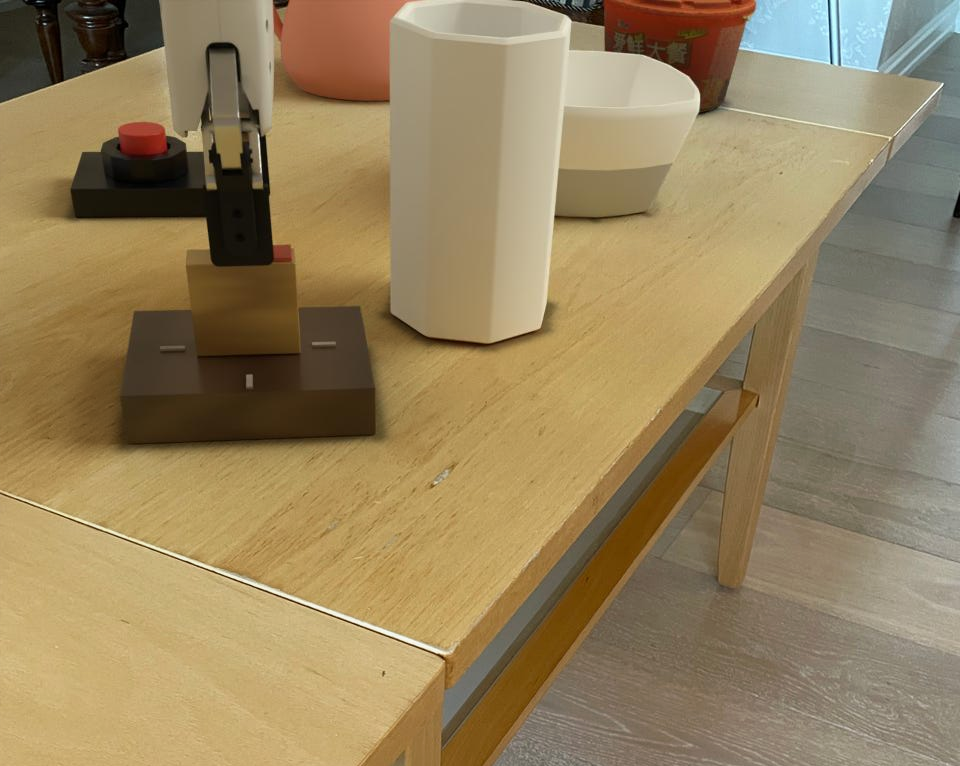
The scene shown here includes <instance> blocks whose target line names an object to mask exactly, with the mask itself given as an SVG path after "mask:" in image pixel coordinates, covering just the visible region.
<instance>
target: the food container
mask: <svg viewBox="0 0 960 766" xmlns="http://www.w3.org/2000/svg"><path fill="white" fill-rule="evenodd" d="M603 6H604V7H603V9H604V10H603V11H604V13H603V16H604V17H603V18H604V21H603V23H604V24H603V25H604V29H603V30H604V31H603V32H604V33H603V34H604V35H603V36H604V39H603V40H604V52H616V53H627V54H638V55H644V56H647V57H650V58H652V59H655V60H658V61H660V62H663V63H665V64H668V65H670V66H672V67H673V68H675V69H677V70H678V71H680V72H682V73H684V74H685V75H687V76H689V77H690V79H691V80H692V81H693V83H694V84H695V85H696V87H697V88H698V90H699V93H700V107H699V112H698V114H699V113H702V112H706V111H707V112H708V111H712V110H714V109H717V108H719V107H720V106H721V105H723V103H724V102H725V100H726V96H727V93H728V89H729V85H730V82H731V78H732V74H733V71H734V67H735V64H736V62H737V61H736V60H737V56H738V54H739V50H740V46H741V42H742V40H743V36H744V31H745V29H746V25H747V22H749V21H751V19H752V18H753V15H754V13H755V12H756V9H757V1H756V0H603Z"/></svg>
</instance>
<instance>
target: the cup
mask: <svg viewBox="0 0 960 766" xmlns="http://www.w3.org/2000/svg"><path fill="white" fill-rule="evenodd" d="M571 30H572V19H571V18H570V17H569V16H568V15H566V14H563V13H561V12H558V11H555V10H551V9H548V8H545V7H543V6H540V5H537V4H534V3H532V2H527V1H520V0H422V1H413V2H407V3H406V4H405V5H404V6H403V7H402V8H401V9H400V10H399V11H398V12H397V13H396V14H395V16H394V17H393V18H392V19H391V20H390V100H389V225H390V226H389V229H390V231H389V233H390V235H389V239H390V240H389V242H390V244H389V245H390V246H389V248H390V250H389V251H390V252H389V253H390V255H389V258H390V259H389V260H390V263H389V264H390V265H389V266H390V269H389V270H390V272H389V273H390V276H389V277H390V278H389V279H390V282H389V283H390V285H389V286H390V291H389V292H390V313H391V314H392V315H393V316H395V317H396V318H398V319H399V320H400V321H402V322H404V323H405V324H407V325H408V326H409V327H411V328H413V330H416V331H417V332H418V333H420V334H422V335H423V336H425V337H426V338H429V339H438V340H445V341H446V340H447V341H448V340H449V341H456V342H466V343H475V344H484V345H490V344H495V343H497V342H500V341H505V340H507V339H511V338H514V337H518V336H521V335H525V334H528V333H531V332H535V331H538V330H540V329H541V328H542V323H543V321H544V315H545V311H546V307H547V301H548V291H549V280H550V269H551V257H552V247H553V235H554V222H555V215H554V213H555V202H556V191H557V180H558V168H559V157H560V146H561V134H562V123H563V112H564V101H565V89H566V78H567V67H568V55H569V50H570V44H571V32H572V31H571Z"/></svg>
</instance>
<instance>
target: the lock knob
mask: <svg viewBox="0 0 960 766" xmlns="http://www.w3.org/2000/svg"><path fill="white" fill-rule="evenodd" d="M273 252H274V261H273V263H272V264H270V265H267V266H230V267H217V266H215V265H214V264H213V263H212V261H211V256H210V248H207V249H206V248H205V249H204V248H203V249H187V250H186V260H185V271H186V278H187V287H188V294H189V303H190V310H191V313H192V321H193V330H194V338H195V346H196V354H197V356H223V355H259V354H295V353H301V346H300V329H299V312H298V307H299V297H298V295H299V294H298V281H297V280H298V279H297V263H296V261H297V260H296V252H295V248H293V247H292V244H273Z"/></svg>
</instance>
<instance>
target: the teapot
mask: <svg viewBox="0 0 960 766" xmlns="http://www.w3.org/2000/svg"><path fill="white" fill-rule="evenodd" d="M413 1H422V0H289V1H288V3H287V6H286V9H285V14H284V17H283V22H282V19H281V17H280V15H279V12H278V11H277V8H276V6H275V4H274V2H273V22H274V35H275V36H276V37H277V39H278V41H279V42H280V61H281V63H282V66H283V68H284V69H285V71H286V73H287V74H288V76H289V77H290V79H291V80H292V82H294V84H295V85H296V87H297V88H298V89H300V90H301V91H303V92H305V93H308V94H311V95H314V96H319V97H324V98H331V99H338V100H345V101H346V100H347V101H363V102H364V101H365V102H379V101H380V102H382V101H383V102H384V101H390V20H391V19H392V18H393V17H394V16H395V14H396V13H397V12H398V11H399V10H400V9H401V8H402V7H403V6H404V5H405V4H406V3H407V2H413Z"/></svg>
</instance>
